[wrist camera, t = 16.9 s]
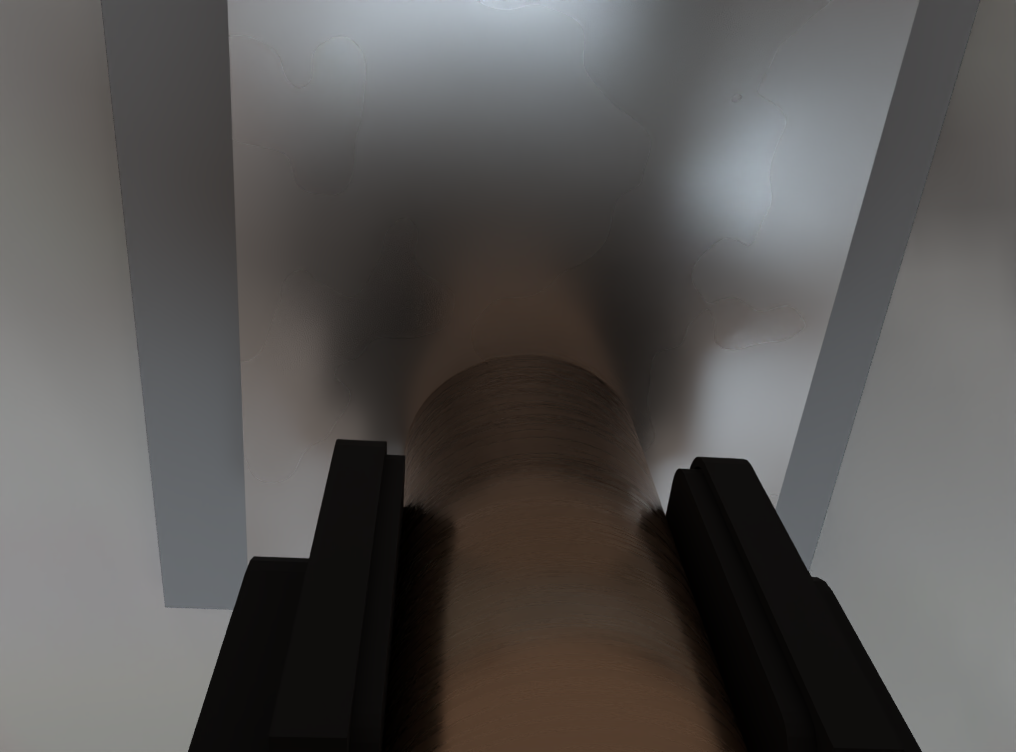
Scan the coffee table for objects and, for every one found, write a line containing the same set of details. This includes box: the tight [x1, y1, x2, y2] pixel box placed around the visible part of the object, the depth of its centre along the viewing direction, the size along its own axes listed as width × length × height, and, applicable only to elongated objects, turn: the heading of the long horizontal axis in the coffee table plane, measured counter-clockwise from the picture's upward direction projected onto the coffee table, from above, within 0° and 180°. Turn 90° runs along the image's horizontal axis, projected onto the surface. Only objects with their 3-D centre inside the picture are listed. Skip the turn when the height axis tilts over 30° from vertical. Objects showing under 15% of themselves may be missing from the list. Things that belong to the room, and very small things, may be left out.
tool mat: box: [101, 0, 980, 610], centre depth 13 cm, size 11×14×1 cm
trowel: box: [228, 0, 919, 752], centre depth 8 cm, size 7×10×8 cm
